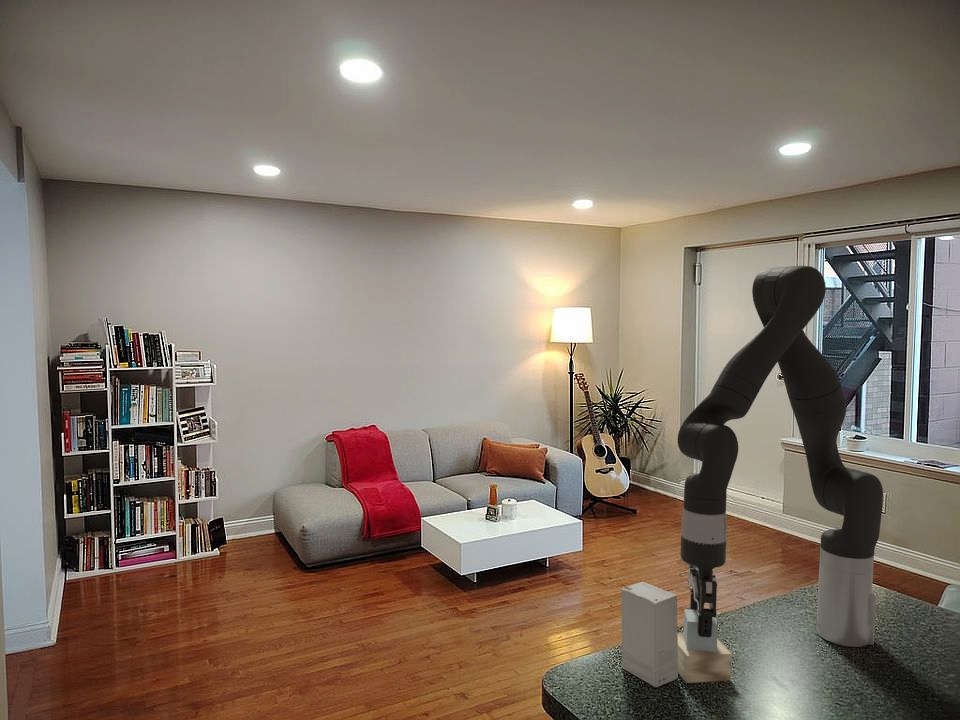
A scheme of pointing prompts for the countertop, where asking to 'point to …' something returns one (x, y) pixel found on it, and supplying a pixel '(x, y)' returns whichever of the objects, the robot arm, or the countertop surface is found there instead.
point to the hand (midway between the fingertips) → (700, 624)
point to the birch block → (703, 663)
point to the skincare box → (649, 633)
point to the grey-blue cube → (691, 633)
